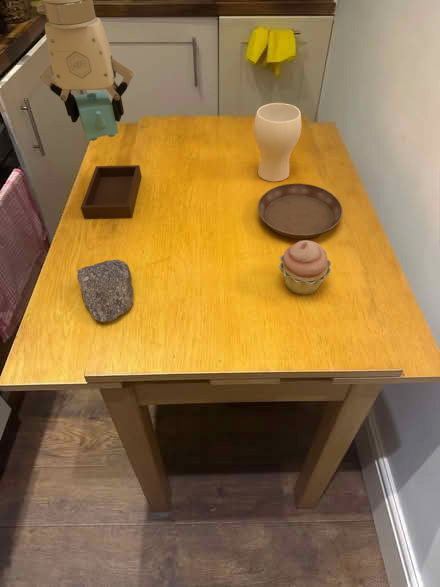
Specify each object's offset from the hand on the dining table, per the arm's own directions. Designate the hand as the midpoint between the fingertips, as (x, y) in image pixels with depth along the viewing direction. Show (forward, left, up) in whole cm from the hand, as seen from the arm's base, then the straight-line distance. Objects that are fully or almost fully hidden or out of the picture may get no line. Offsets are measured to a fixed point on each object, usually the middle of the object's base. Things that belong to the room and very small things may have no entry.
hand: (97, 118), depth 79 cm
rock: (+19, -22, -20) cm, 35 cm away
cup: (+24, +29, -20) cm, 43 cm away
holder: (-3, +1, -20) cm, 20 cm away
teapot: (0, 0, -4) cm, 4 cm away
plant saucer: (+37, +16, -20) cm, 45 cm away
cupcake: (+46, -1, -20) cm, 50 cm away
